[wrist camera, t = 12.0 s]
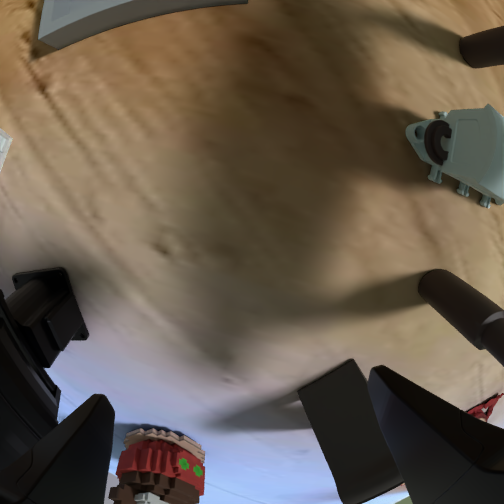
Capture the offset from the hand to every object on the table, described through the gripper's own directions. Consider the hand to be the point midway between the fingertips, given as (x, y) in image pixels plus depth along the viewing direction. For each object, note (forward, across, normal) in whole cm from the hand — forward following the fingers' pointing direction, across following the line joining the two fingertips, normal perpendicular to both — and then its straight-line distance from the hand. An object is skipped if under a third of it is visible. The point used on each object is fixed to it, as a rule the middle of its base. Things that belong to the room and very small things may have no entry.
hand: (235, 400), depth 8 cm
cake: (+12, +11, +22) cm, 27 cm away
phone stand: (+12, -9, +16) cm, 22 cm away
